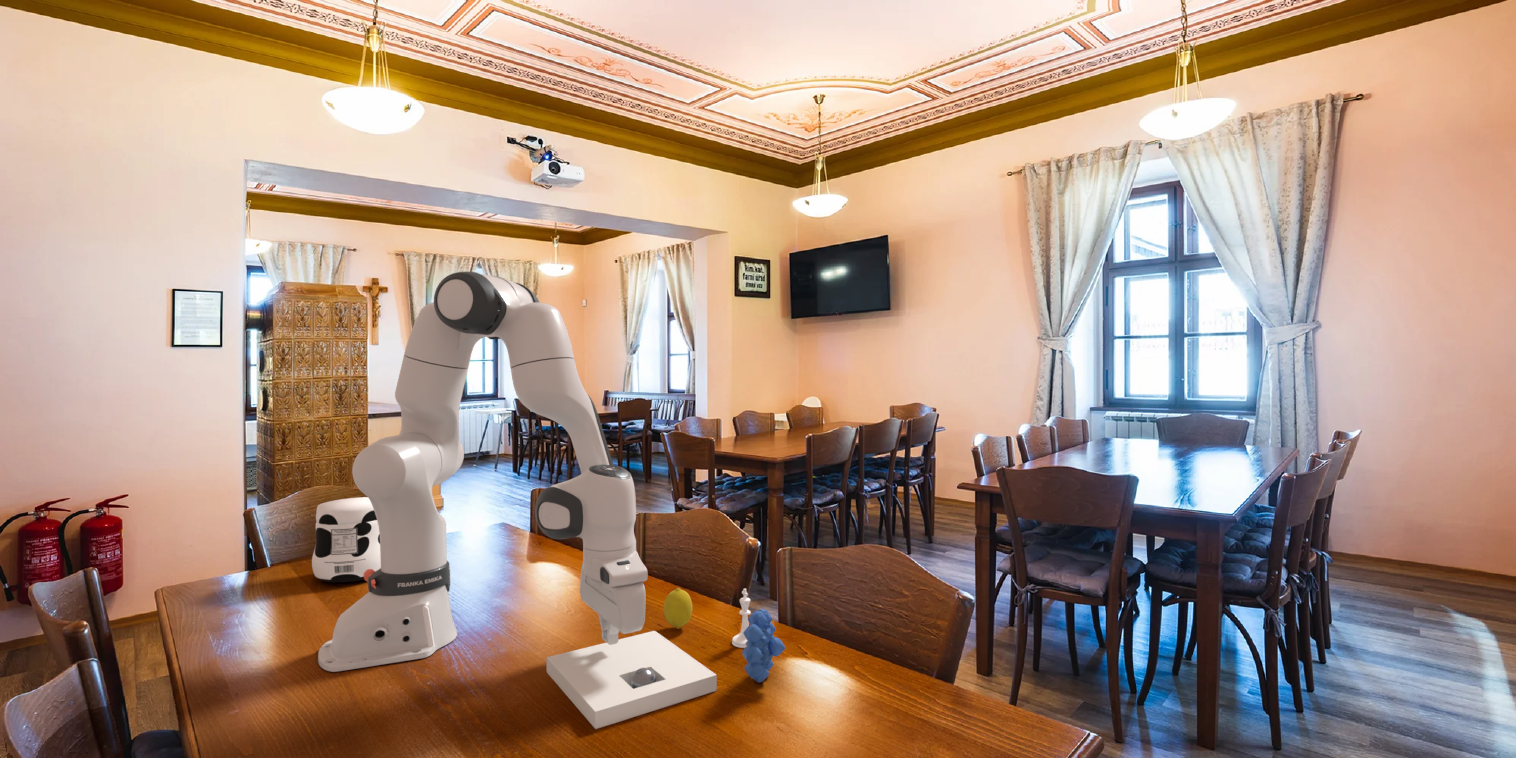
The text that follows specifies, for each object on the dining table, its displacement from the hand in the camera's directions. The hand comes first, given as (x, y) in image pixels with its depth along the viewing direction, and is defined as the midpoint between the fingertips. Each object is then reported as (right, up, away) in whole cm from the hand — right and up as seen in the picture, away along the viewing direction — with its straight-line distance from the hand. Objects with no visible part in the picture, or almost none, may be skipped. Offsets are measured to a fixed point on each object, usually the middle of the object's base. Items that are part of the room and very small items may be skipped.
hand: (610, 641), depth 118 cm
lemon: (+10, -4, +16) cm, 20 cm away
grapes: (+27, -4, -6) cm, 27 cm away
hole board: (+4, -4, -6) cm, 8 cm away
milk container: (-73, -4, +50) cm, 89 cm away
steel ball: (+7, -2, -10) cm, 13 cm away
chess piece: (+23, -4, +10) cm, 25 cm away
